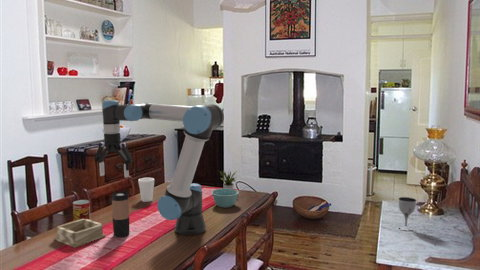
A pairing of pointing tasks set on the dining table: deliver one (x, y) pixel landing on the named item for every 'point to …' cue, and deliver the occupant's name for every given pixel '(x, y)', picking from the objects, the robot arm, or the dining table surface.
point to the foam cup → (146, 189)
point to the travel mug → (120, 214)
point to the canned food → (81, 209)
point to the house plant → (228, 180)
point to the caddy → (79, 232)
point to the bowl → (225, 197)
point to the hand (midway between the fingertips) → (114, 176)
